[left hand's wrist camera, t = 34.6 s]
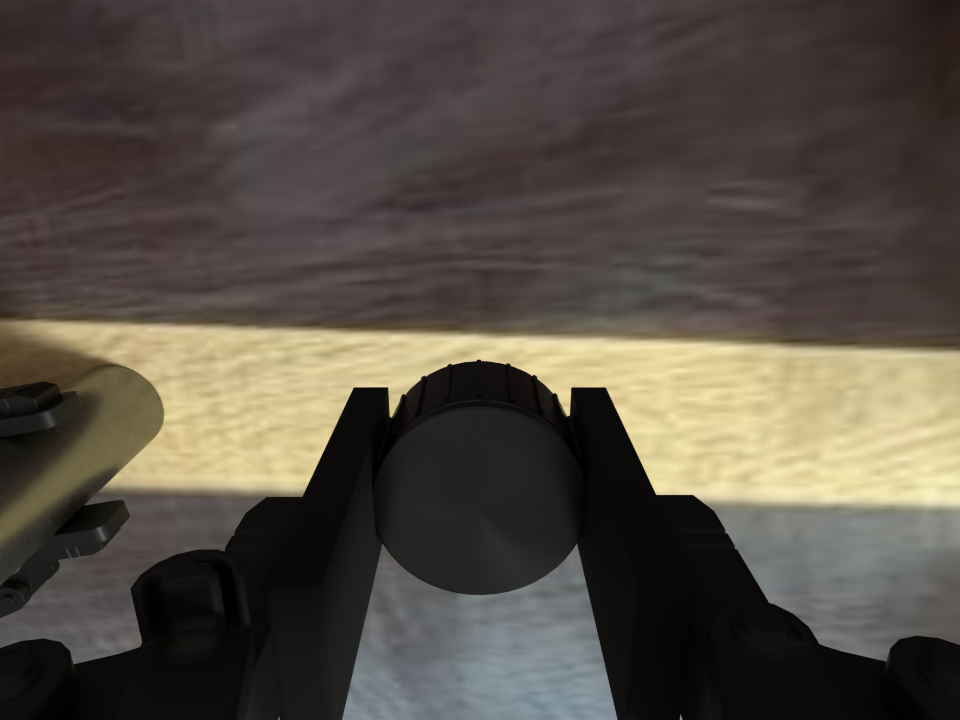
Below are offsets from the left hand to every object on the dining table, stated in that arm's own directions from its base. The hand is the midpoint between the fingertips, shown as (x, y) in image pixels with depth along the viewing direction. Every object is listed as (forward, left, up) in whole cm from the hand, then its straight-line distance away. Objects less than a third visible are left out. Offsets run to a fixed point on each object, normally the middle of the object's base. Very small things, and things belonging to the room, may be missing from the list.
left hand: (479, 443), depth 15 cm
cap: (0, 0, +2) cm, 2 cm away
